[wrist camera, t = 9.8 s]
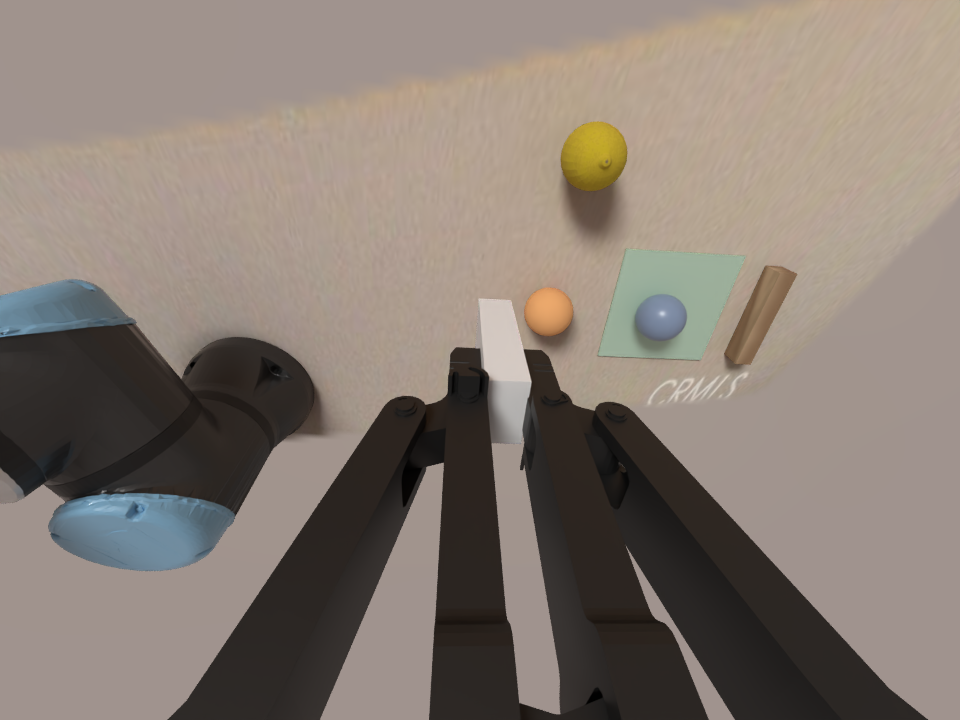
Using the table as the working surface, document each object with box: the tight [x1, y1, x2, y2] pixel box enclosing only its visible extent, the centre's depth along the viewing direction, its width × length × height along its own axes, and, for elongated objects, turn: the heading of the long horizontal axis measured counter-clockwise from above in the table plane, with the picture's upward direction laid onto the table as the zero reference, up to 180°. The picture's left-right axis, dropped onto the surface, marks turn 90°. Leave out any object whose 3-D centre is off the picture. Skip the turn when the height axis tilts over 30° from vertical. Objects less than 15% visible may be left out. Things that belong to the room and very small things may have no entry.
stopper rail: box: [724, 266, 797, 365], centre depth 47 cm, size 2×12×2 cm, turn 176°
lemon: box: [561, 122, 627, 191], centre depth 35 cm, size 6×6×8 cm
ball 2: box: [635, 294, 687, 341], centre depth 45 cm, size 6×6×6 cm
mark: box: [598, 249, 746, 360], centre depth 48 cm, size 14×14×1 cm
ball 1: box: [524, 288, 573, 336], centre depth 44 cm, size 6×6×6 cm
